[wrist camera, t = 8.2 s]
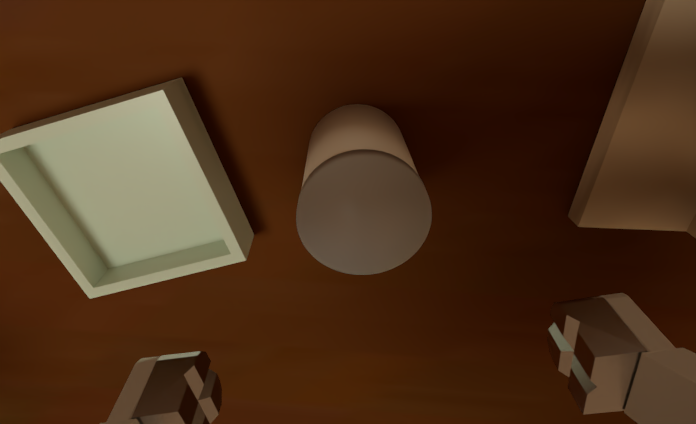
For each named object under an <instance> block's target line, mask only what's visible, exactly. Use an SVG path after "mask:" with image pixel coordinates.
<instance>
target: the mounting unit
mask: <svg viewBox="0 0 696 424" xmlns="http://www.w3.org/2000/svg"><path fill="white" fill-rule="evenodd" d="M568 217H569V218H570V219H571V220H572V221H573V222H574V223H575V224H576V225H577V226H578V227H591V228H615V229H640V230H664V231H686V232H688V233H689V234H690V235H692V236H693V237H694V238H696V0H646V2H645V5H644V8H643V10H642V13H641V16H640V19H639V21H638V24H637V27H636V30H635V32H634V35H633V38H632V41H631V43H630V46H629V49H628V52H627V54H626V57H625V60H624V63H623V65H622V68H621V71H620V74H619V76H618V79H617V82H616V85H615V87H614V90H613V93H612V96H611V98H610V101H609V104H608V106H607V109H606V112H605V115H604V117H603V120H602V123H601V126H600V128H599V131H598V134H597V137H596V139H595V142H594V145H593V148H592V150H591V153H590V156H589V159H588V161H587V164H586V167H585V170H584V172H583V175H582V178H581V181H580V183H579V186H578V189H577V192H576V194H575V197H574V200H573V203H572V205H571V208H570V211H569V214H568Z"/></svg>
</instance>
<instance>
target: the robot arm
mask: <svg viewBox="0 0 696 424" xmlns="http://www.w3.org/2000/svg"><path fill="white" fill-rule="evenodd" d="M550 316H551V318H552V319H553V321H554V324H553V325H552V326H551V327H550V328H549V329H548V337H547V341H548V346H549V352H550V354H551V357H552V359H553V362H554V363H555V365H556V367H557V369H558V370H559V371H560V372H562V373H563V374H565V375H566V376H568V377H569V383H568V389H569V391H570V392H571V394H572V396H573V398H574V399H575V401H576V403H577V405H578V406H579V408H580V410H581V412H582V413H583V415H584V414H594V413H605V412H615V411H624V413H625V414H626V415H628V416H629V417H630V418H632V419H633V420H634V421H635V422H637V423H638V424H696V353H693V352H691V351H689V350H687V349H685V348H675V347H674V346H673V345H672V343H671V342H670V341H669V340H668V339H667V338H666V337H665V336H664V335H663V334H662V332H661V331H660V330H659V329H658V328H657V327H656V326H655V325H654V324H653V323H652V321H651V320H650V319H649V318H648V317H647V316H646V315H645V314H644V313H643V312H642V310H641V309H640V308H639V307H638V306H637V305H636V304H635V303H634V302H633V301H632V299H631V298H630V297H629V296H628V295H626V294H624V293H616V294H610V295H603V296H598V297H597V296H595V297H588V298H581V299H575V300H568V301H561V302H554V303H553V305H552V306H551V311H550ZM210 362H211V360H210V359H209V357H208V355H207V353H206V352H203V351H199V352H190V353H181V354H172V355H163V356H157V357H148V358H141V359H140V360H139V361H138V362H137V363H136V364H135V365H134V367H133V369H132V371H131V373H130V376H129V378H128V380H127V382H126V384H125V386H124V388H123V390H122V392H121V394H120V396H119V398H118V400H117V402H116V404H115V406H114V408H113V410H112V412H111V414H110V416H109V418H108V420H107V422H105V423H100V424H210V423H211V422H212V421H213V420H214V419H215V418H216V417H217V416H218V414H219V411H220V407H221V402H222V388H221V383H220V380H219V377H218V375H217V373H215V372H213V371H212V370H210V369H209V366H210Z"/></svg>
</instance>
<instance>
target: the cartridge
mask: <svg viewBox="0 0 696 424" xmlns="http://www.w3.org/2000/svg"><path fill="white" fill-rule="evenodd" d="M431 221H432V209H431V203H430V199H429V196H428V194H427V191H426V189H425V186H424V184H423V182H422V180H421V178H420V177H419V175H418V173H417V170H416V168H415V165H414V163H413V160H412V158H411V155H410V153H409V151H408V148H407V146H406V143H405V141H404V138H403V136H402V133H401V131H400V129H399V127H398V126H397V124H396V123H395V121H394V120H393V119H392V118H391V117H390V116H389V115H388V114H386V113H385V112H383V111H382V110H380V109H378V108H376V107H372V106H369V105H364V104H351V105H346V106H342V107H339V108H337V109H335V110H333V111H331V112H329V113H328V114H326V115H325V116H324V117H323V118H322V119H321V120H320V121H319V122H318V124H317V125H316V127H315V128H314V130H313V132H312V134H311V138H310V141H309V147H308V153H307V159H306V165H305V171H304V177H303V184H302V189H301V192H300V195H299V200H298V206H297V212H296V224H297V230H298V233H299V236H300V239H301V241H302V243H303V245H304V246H305V247H306V249H307V250H308V251H309V253H310V254H311V255H312V256H313V257H314V258H315V259H317V260H318V261H319V262H321V263H322V264H324V265H325V266H327V267H329V268H331V269H334V270H336V271H339V272H343V273H347V274H354V275H369V274H376V273H381V272H384V271H388V270H390V269H393V268H395V267H397V266H399V265H401V264H402V263H404V262H405V261H407V260H408V259H409V258H411V257H412V256H413V255H414V254H415V253H416V252H417V251H418V250H419V248H420V247H421V246H422V244H423V243H424V241H425V239H426V237H427V235H428V233H429V230H430V226H431Z"/></svg>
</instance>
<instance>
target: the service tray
mask: <svg viewBox="0 0 696 424" xmlns="http://www.w3.org/2000/svg"><path fill="white" fill-rule="evenodd" d="M0 181H1V182H2V184H3V185H4V186H5V188H6V189H7V190H8V192H9V193H10V194H11V196H12V197H13V198H14V200H15V201H16V202H17V203H18V205H19V206H20V207H21V209H22V210H23V211H24V213H25V214H26V215H27V217H28V218H29V219H30V221H31V222H32V223H33V225H34V226H35V227H36V229H37V230H38V231H39V233H40V234H41V235H42V236H43V238H44V239H45V240H46V242H47V243H48V244H49V246H50V247H51V248H52V250H53V251H54V252H55V254H56V255H57V256H58V258H59V259H60V260H61V262H62V263H63V264H64V266H65V267H66V268H67V270H68V271H69V272H70V273H71V275H72V276H73V277H74V279H75V280H76V281H77V283H78V284H79V285H80V287H81V288H82V289H83V291H84V292H85V293H86V295H87V296H88V297H89V299H91V298H95V297H99V296H103V295H107V294H111V293H115V292H119V291H123V290H127V289H131V288H136V287H140V286H144V285H148V284H152V283H156V282H160V281H164V280H168V279H172V278H176V277H180V276H184V275H189V274H193V273H197V272H201V271H205V270H209V269H213V268H217V267H221V266H225V265H229V264H233V263H237V262H242V261H246V259H247V256H248V253H249V250H250V247H251V244H252V240H253V237H254V233H253V231H252V229H251V227H250V224H249V222H248V220H247V218H246V216H245V213H244V211H243V209H242V207H241V205H240V203H239V200H238V198H237V196H236V194H235V192H234V190H233V187H232V185H231V183H230V181H229V179H228V176H227V174H226V172H225V170H224V168H223V166H222V163H221V161H220V159H219V157H218V155H217V152H216V150H215V148H214V146H213V144H212V142H211V139H210V137H209V135H208V133H207V131H206V129H205V126H204V124H203V122H202V120H201V118H200V115H199V113H198V111H197V109H196V107H195V105H194V102H193V100H192V98H191V96H190V94H189V92H188V89H187V87H186V85H185V83H184V81H183V78H182V77H181V78H178V79H174V80H171V81H168V82H164V83H161V84H158V85H155V86H151V87H148V88H145V89H141V90H138V91H135V92H131V93H128V94H125V95H122V96H118V97H115V98H112V99H108V100H105V101H102V102H98V103H95V104H92V105H88V106H85V107H82V108H79V109H75V110H72V111H69V112H65V113H62V114H59V115H55V116H52V117H49V118H46V119H42V120H39V121H36V122H32V123H29V124H26V125H22V126H19V127H16V128H12V129H10V130H8V131H6V132H4V133H2V134H0Z"/></svg>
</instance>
